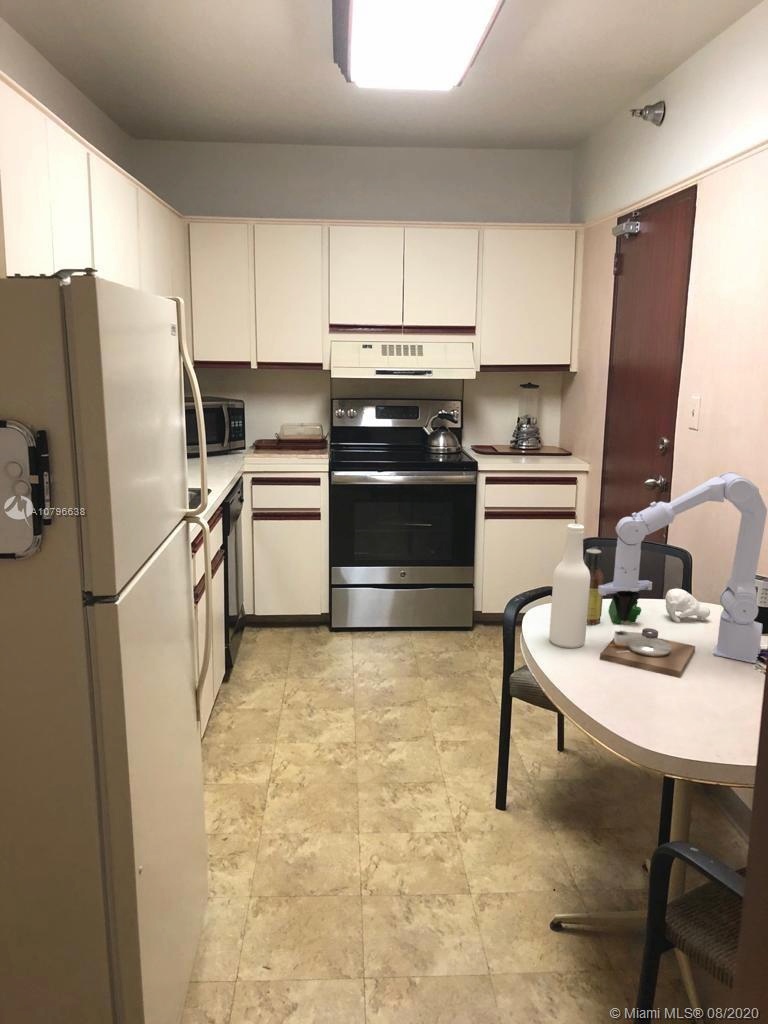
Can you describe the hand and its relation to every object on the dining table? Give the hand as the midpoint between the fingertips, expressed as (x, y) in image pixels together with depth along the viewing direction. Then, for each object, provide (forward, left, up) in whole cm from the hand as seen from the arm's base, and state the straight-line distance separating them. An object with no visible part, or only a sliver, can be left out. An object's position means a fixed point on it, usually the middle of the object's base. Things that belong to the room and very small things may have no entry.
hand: (622, 619), depth 185 cm
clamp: (+4, -20, -7) cm, 22 cm away
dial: (-6, +3, -5) cm, 8 cm away
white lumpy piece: (-10, -29, -7) cm, 32 cm away
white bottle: (+12, +6, -7) cm, 15 cm away
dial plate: (-7, +3, -7) cm, 10 cm away
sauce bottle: (+12, -12, -7) cm, 18 cm away
